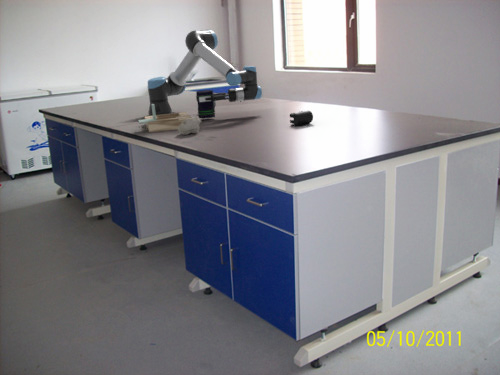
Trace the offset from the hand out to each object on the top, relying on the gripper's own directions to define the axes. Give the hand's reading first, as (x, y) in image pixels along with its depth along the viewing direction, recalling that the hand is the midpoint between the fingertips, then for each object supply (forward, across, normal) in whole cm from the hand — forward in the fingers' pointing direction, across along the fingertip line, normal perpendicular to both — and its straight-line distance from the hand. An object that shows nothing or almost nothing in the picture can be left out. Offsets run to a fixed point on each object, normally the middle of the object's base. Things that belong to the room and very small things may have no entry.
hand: (197, 98), depth 292 cm
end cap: (-44, -51, -13) cm, 68 cm away
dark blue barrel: (-4, 0, -11) cm, 12 cm away
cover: (+31, -16, -8) cm, 35 cm away
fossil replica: (+12, -39, -13) cm, 43 cm away
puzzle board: (+19, -7, -12) cm, 24 cm away
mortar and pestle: (-11, +27, -13) cm, 32 cm away
